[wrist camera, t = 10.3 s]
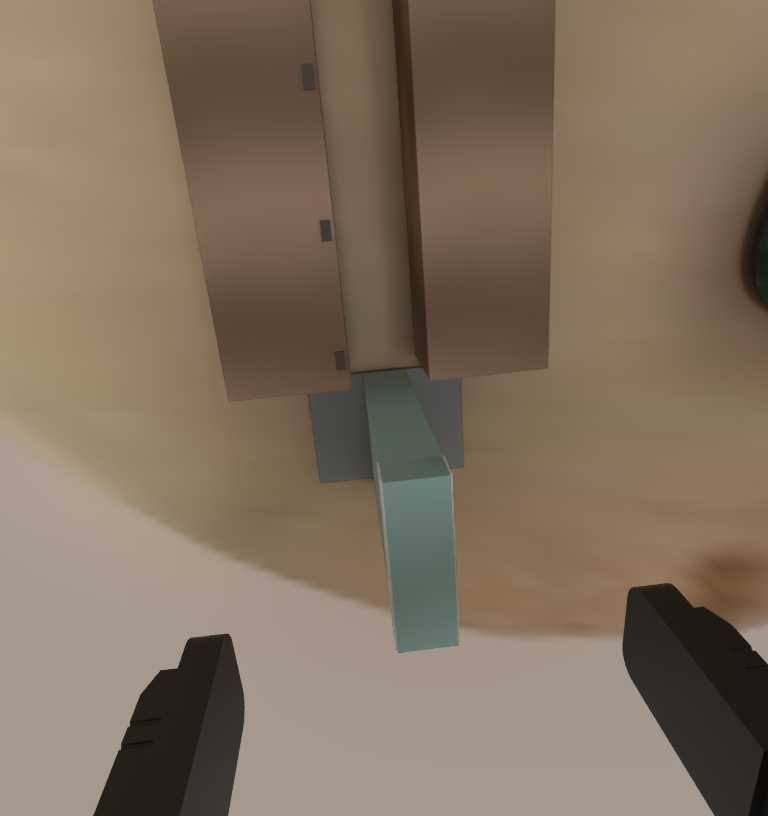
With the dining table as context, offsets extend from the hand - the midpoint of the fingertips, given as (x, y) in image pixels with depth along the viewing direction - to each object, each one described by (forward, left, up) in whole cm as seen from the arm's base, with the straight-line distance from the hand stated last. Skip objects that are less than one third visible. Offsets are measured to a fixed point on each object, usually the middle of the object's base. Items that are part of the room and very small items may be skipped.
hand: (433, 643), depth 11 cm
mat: (0, 0, -12) cm, 12 cm away
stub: (0, 0, -12) cm, 12 cm away
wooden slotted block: (-12, 0, -12) cm, 17 cm away
